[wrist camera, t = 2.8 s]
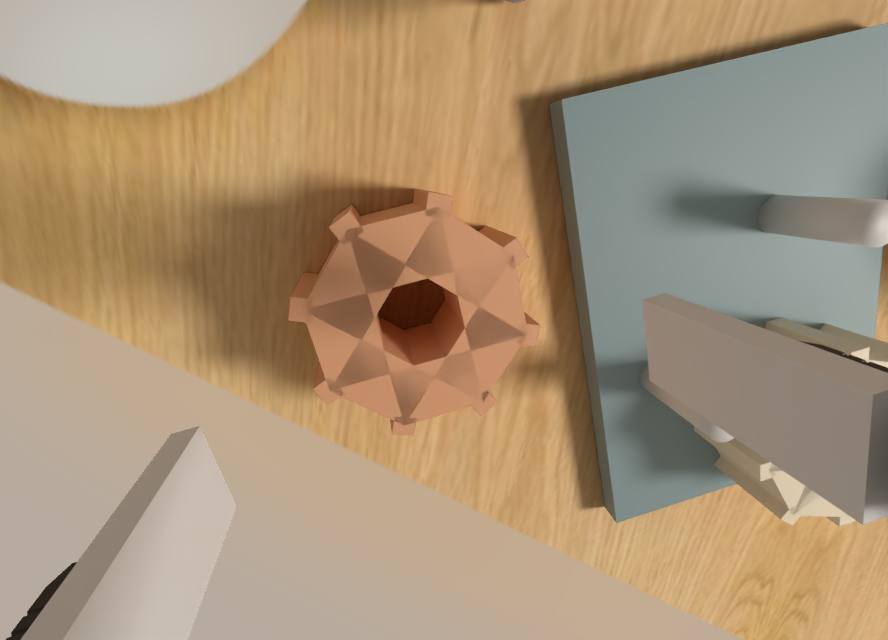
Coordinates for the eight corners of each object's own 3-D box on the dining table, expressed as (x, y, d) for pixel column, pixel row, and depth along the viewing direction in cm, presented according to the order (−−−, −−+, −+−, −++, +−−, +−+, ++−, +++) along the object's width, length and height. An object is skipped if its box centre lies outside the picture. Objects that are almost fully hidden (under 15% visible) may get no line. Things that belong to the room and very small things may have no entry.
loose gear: (279, 222, 22) (257, 234, 18) (483, 171, 23) (514, 170, 19) (341, 406, 26) (337, 458, 21) (518, 356, 27) (552, 394, 22)
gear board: (549, 103, 23) (625, 74, 16) (871, 28, 25) (1058, -26, 18) (604, 506, 31) (671, 596, 24) (844, 429, 33) (966, 494, 26)
